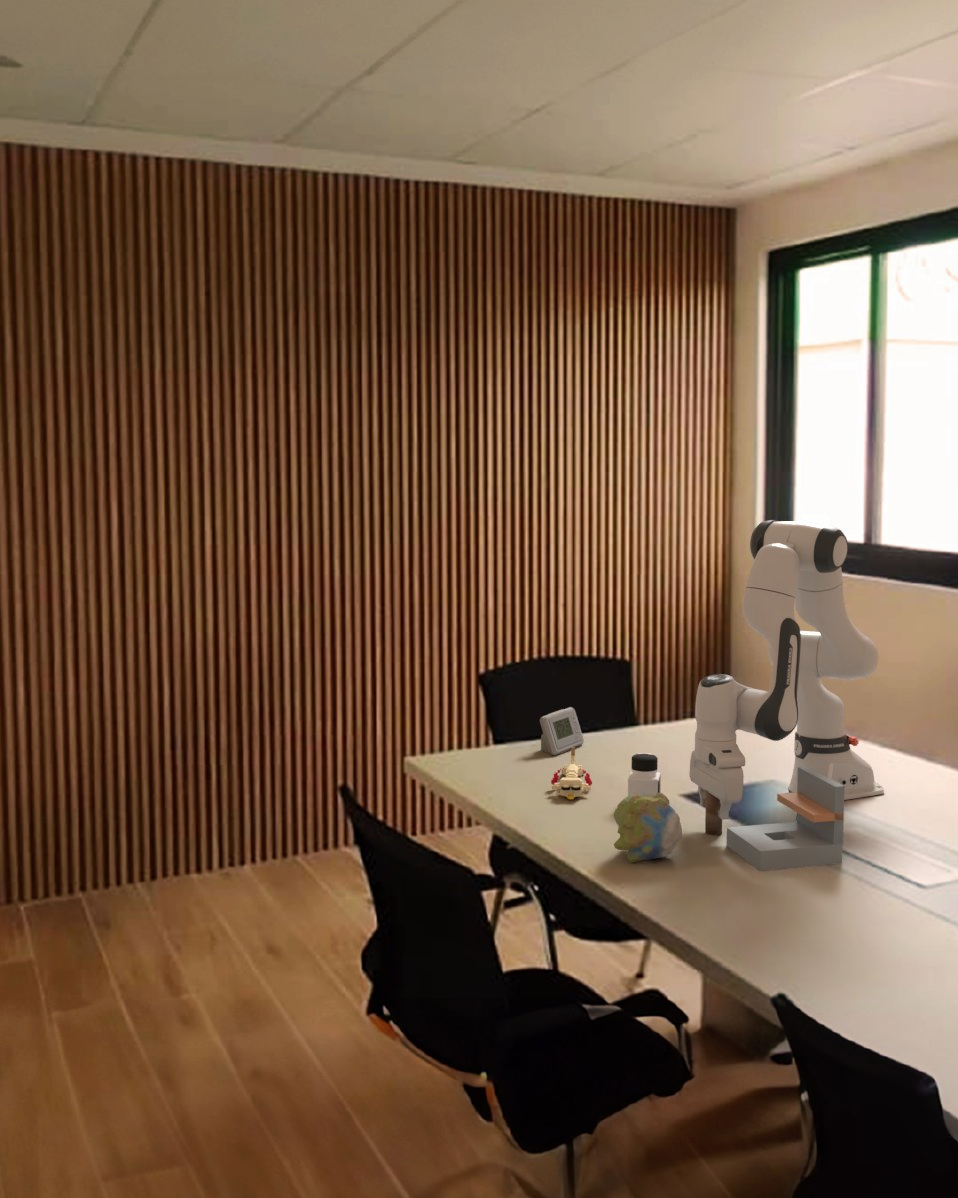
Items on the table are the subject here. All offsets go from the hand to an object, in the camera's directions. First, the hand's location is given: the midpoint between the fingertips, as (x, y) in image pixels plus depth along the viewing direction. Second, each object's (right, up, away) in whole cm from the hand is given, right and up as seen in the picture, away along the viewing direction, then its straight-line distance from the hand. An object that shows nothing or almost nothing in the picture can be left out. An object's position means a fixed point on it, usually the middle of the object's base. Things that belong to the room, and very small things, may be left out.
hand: (714, 812), depth 278 cm
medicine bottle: (-12, -2, +22) cm, 26 cm away
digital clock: (-28, +5, +75) cm, 81 cm away
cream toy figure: (-28, -1, +37) cm, 47 cm away
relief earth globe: (-18, -7, -15) cm, 24 cm away
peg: (0, -5, +1) cm, 5 cm away
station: (+11, -6, -14) cm, 19 cm away
